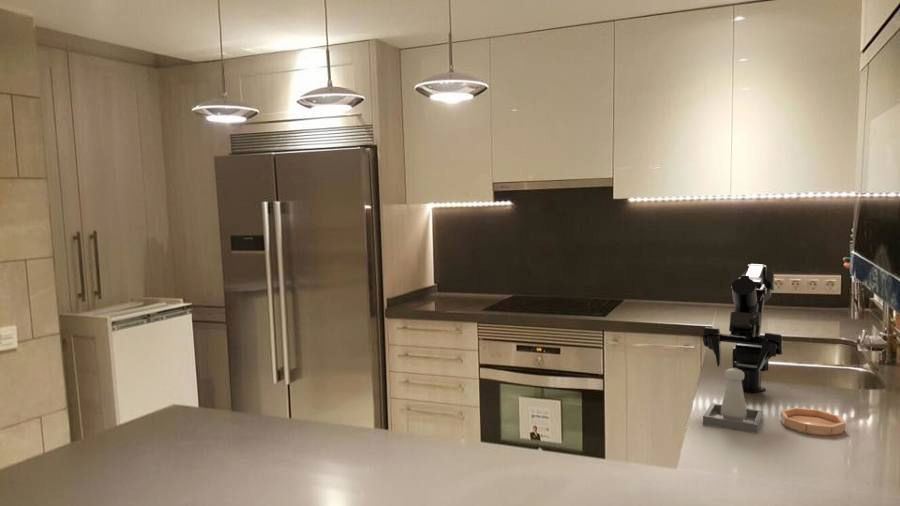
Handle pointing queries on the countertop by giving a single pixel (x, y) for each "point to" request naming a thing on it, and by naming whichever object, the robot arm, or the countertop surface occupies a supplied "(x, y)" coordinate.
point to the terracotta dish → (812, 421)
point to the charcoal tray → (733, 424)
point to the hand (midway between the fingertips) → (737, 368)
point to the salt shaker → (734, 396)
